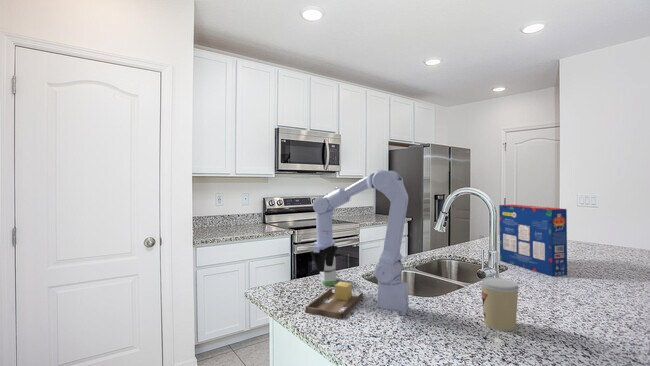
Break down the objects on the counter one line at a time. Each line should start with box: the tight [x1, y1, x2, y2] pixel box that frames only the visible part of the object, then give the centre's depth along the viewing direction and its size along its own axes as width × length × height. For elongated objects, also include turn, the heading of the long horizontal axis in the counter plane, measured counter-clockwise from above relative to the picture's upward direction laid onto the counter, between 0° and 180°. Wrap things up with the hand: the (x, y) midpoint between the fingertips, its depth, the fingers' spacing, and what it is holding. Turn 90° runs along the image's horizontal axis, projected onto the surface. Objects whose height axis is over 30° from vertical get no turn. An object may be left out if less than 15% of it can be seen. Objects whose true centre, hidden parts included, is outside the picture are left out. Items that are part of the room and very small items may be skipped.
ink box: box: [319, 256, 337, 287], centre depth 127 cm, size 9×5×12 cm, turn 12°
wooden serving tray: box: [304, 287, 364, 320], centre depth 104 cm, size 12×19×3 cm, turn 155°
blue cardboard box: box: [498, 204, 568, 277], centre depth 148 cm, size 28×8×28 cm, turn 14°
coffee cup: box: [480, 277, 520, 332], centre depth 90 cm, size 9×9×12 cm
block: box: [334, 281, 353, 301], centre depth 110 cm, size 4×4×4 cm
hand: (325, 268), depth 115 cm, fingers open, 7 cm apart
